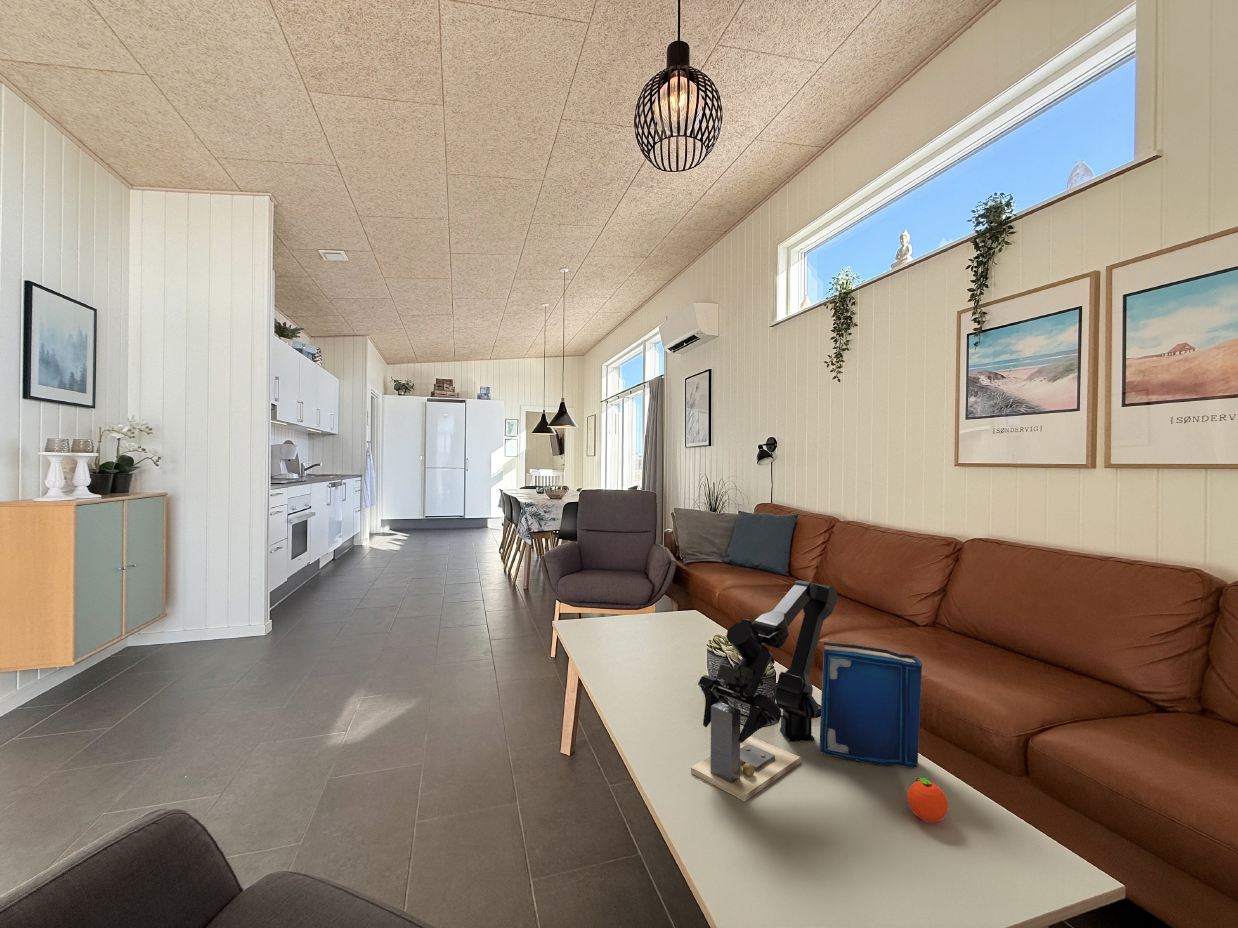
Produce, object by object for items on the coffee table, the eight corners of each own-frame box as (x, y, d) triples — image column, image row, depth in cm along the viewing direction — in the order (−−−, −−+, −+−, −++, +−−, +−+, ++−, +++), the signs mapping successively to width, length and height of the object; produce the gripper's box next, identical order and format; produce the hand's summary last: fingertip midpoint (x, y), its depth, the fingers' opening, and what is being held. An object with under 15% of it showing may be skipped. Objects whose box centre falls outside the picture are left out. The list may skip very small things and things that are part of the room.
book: (918, 758, 130) (919, 650, 130) (924, 773, 123) (925, 660, 123) (819, 742, 137) (820, 640, 137) (819, 756, 130) (820, 649, 130)
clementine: (897, 804, 112) (898, 768, 112) (933, 805, 112) (933, 769, 112) (918, 830, 104) (918, 791, 104) (955, 831, 104) (956, 792, 104)
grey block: (728, 761, 125) (728, 697, 125) (749, 771, 121) (749, 705, 121) (710, 772, 121) (711, 705, 121) (731, 783, 117) (732, 713, 117)
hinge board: (748, 739, 138) (748, 725, 138) (800, 762, 128) (800, 747, 128) (690, 772, 123) (690, 757, 123) (744, 801, 112) (744, 784, 113)
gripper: (703, 639, 129) (671, 700, 122) (774, 660, 116) (743, 731, 108) (723, 665, 135) (693, 725, 127) (794, 688, 121) (765, 757, 113)
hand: (721, 733), depth 119 cm, fingers open, 9 cm apart
